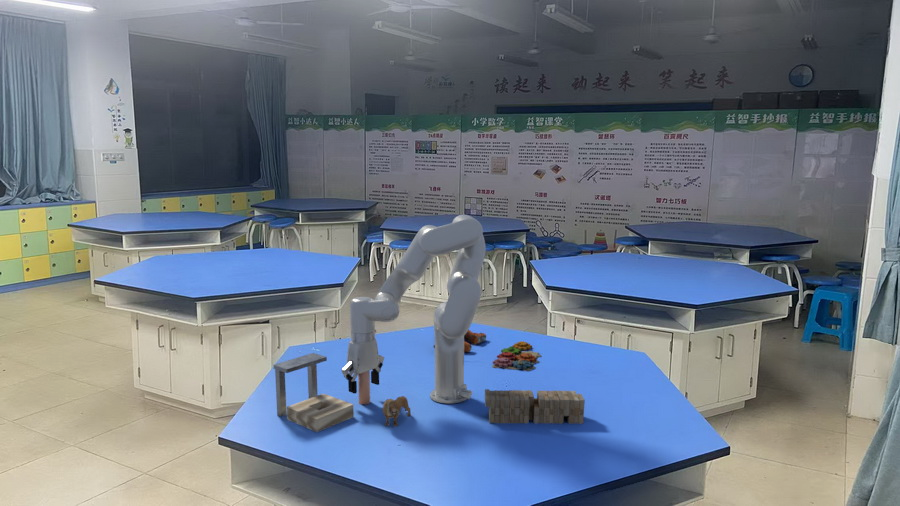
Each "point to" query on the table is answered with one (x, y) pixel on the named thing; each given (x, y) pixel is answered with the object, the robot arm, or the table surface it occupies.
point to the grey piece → (294, 365)
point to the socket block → (320, 412)
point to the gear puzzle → (517, 357)
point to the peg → (364, 387)
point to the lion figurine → (395, 408)
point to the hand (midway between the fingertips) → (364, 388)
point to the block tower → (534, 406)
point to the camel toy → (472, 339)
